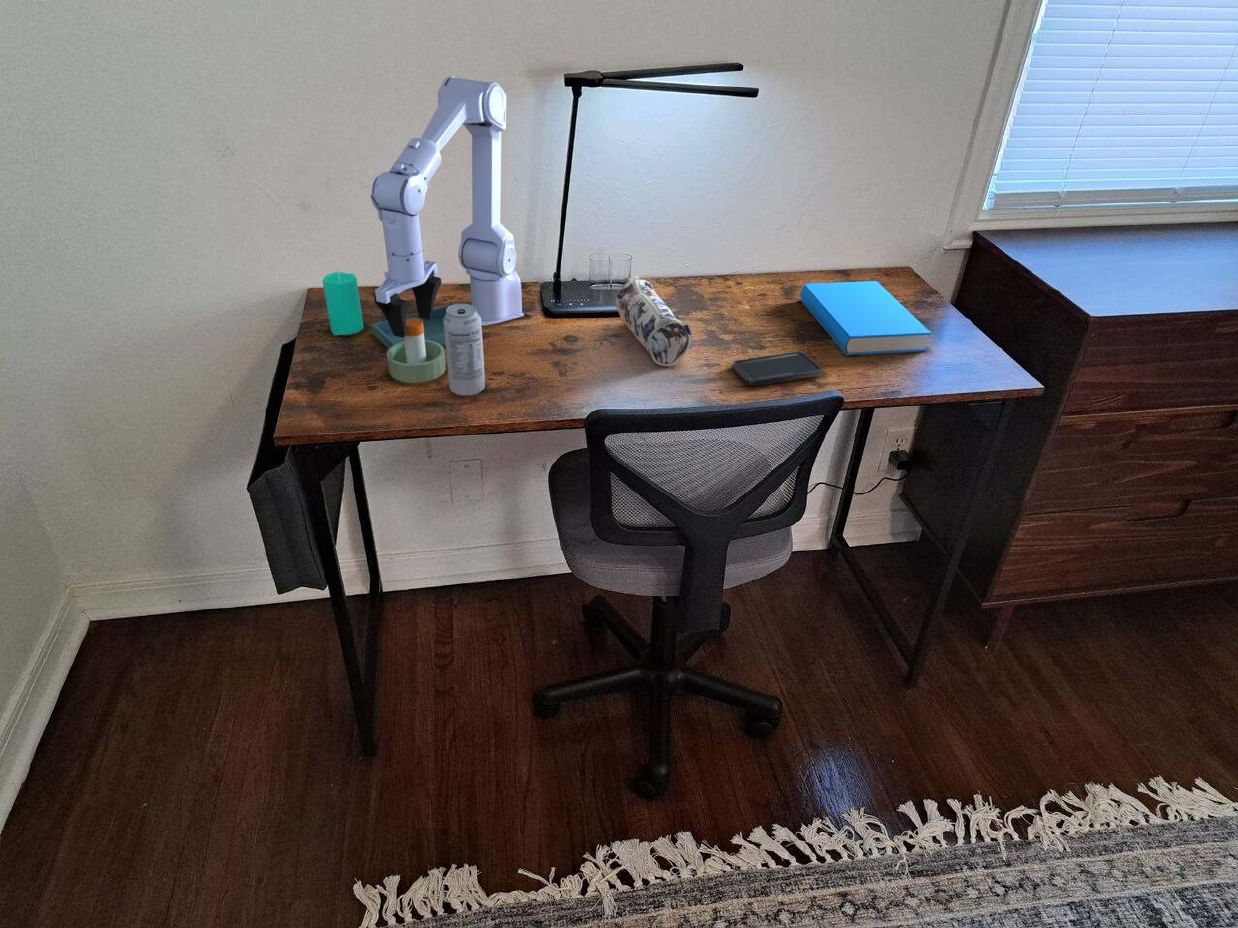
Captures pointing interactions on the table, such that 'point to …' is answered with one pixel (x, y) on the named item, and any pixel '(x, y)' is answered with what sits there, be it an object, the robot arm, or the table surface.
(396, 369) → the green round bowl
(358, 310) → the candle
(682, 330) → the pencil case
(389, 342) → the tray
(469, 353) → the energy drink can
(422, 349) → the glue stick
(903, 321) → the book
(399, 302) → the robot arm
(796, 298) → the table surface
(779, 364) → the phone
